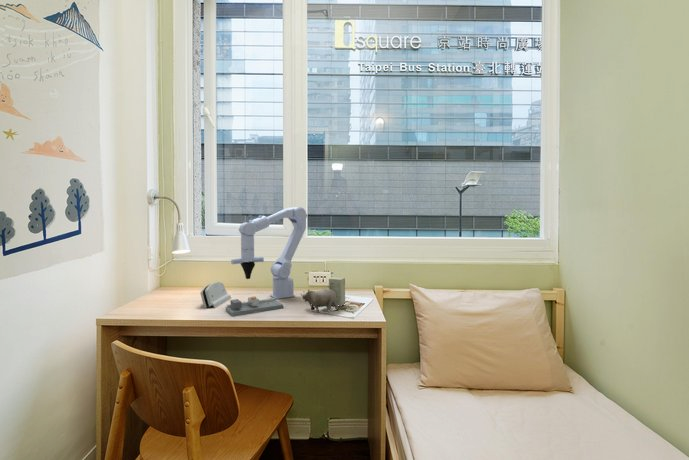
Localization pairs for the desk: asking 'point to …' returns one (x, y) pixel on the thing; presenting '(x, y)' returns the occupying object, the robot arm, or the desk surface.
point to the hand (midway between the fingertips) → (247, 278)
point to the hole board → (245, 308)
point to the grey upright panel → (214, 295)
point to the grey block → (253, 301)
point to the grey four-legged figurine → (321, 299)
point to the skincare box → (338, 289)
